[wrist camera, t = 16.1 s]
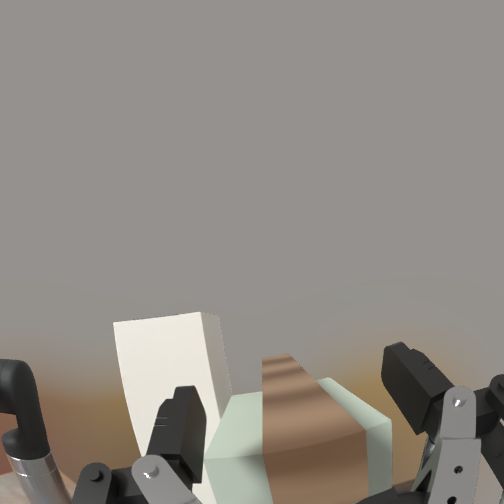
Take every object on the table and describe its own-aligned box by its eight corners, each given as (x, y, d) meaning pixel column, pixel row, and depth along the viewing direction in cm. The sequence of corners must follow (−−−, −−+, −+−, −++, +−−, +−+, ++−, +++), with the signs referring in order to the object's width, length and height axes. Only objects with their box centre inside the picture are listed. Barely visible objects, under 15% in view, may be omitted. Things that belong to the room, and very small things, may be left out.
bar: (368, 498, 5) (365, 429, 6) (277, 520, 5) (262, 453, 6) (292, 378, 28) (288, 353, 29) (266, 383, 28) (262, 358, 29)
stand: (262, 564, 16) (200, 310, 26) (191, 564, 16) (113, 321, 26) (262, 521, 28) (218, 315, 38) (205, 523, 27) (153, 324, 38)
